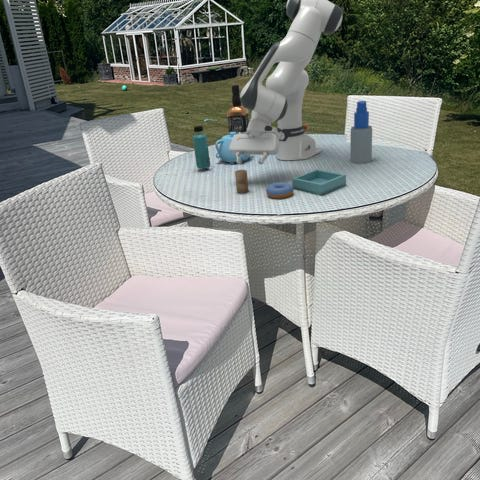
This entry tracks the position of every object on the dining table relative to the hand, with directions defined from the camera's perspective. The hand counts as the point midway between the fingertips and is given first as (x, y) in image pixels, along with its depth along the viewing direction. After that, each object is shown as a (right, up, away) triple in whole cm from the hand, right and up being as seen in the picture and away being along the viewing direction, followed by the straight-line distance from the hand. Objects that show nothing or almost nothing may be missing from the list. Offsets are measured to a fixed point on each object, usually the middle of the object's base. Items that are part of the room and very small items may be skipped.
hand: (249, 163), depth 173 cm
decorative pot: (-6, +9, +44) cm, 45 cm away
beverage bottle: (-20, +2, +34) cm, 39 cm away
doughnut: (+11, -13, -8) cm, 19 cm away
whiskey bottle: (-3, +19, +66) cm, 69 cm away
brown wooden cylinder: (-3, -11, 0) cm, 11 cm away
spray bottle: (+49, +5, +22) cm, 54 cm away
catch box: (+26, -10, -4) cm, 28 cm away
